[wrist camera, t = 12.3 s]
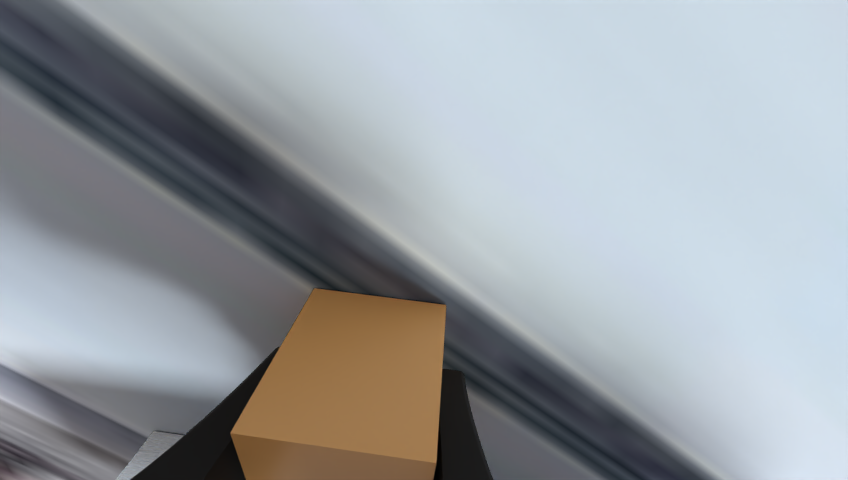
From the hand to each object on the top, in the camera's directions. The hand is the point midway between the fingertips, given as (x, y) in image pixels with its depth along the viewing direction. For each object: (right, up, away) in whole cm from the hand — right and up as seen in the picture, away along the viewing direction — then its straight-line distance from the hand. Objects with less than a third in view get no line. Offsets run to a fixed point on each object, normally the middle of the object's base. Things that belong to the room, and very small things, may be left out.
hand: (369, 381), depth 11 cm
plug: (0, -4, +4) cm, 5 cm away
